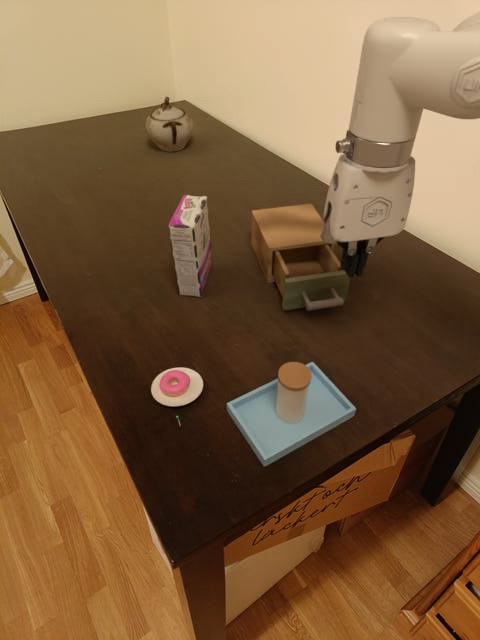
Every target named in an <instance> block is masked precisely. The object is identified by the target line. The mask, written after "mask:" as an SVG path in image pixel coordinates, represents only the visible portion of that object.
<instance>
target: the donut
mask: <svg viewBox="0 0 480 640" xmlns="http://www.w3.org/2000/svg"><path fill="white" fill-rule="evenodd" d="M203 389H204V380H203V378H202V376H201V375H200V374H199V372H197V371H196V370H194V369H192V368H188V367H182V366H181V367H171V368H168V369H166V370H164V371H162V372H160V373H159V374H157V376H156V377H155V378H154V380H153V381H152V382H151V387H150V391H151V392H150V393H151V396H152V397H153V399H154V400H155V401H156V402H158V403H159V404H161V405H163V406H167V407H180V406H185V405H187V404H190V403H192V402H194V401H195V400H196V399H197V398H198V397H199V396H200V395H201V394H202V391H203ZM175 418H176V419H177V420H178V424H179V427H181V423H180V419H179V415H176V416H175Z"/></svg>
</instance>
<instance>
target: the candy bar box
mask: <svg viewBox="0 0 480 640" xmlns="http://www.w3.org/2000/svg"><path fill="white" fill-rule="evenodd" d="M208 205H209V203H208V196H206V195H193V194H192V195H191V194H183V195H182V197H181V200H180V202H179V203H178V205H177V208H176V209H175V211H174V213H173V215H172V217H171V219H170V221H169V223H168V225H167V227H168V233H169V239H170V246H171V250H172V258H173V263H174V270H175V275H176V281H177V288H178V289H177V290H178V294H179V296H183V297H196V298H202V297H203V295H204V291H205V289H206V285H207V283H208V279H209V276H210V274H211V272H212V268H213V265H214V263H213V254H212V253H213V252H212V239H211V228H210V227H211V226H210V216H209V206H208Z"/></svg>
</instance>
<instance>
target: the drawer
mask: <svg viewBox="0 0 480 640" xmlns="http://www.w3.org/2000/svg"><path fill="white" fill-rule="evenodd" d="M334 252H335V251H334ZM334 252H333V251H332V249H331V248H330V246H329V245H328V244H322V245H315V246H307V247H300V248H292V249H285V250H278V251H273V256H272V275H273V277H274V279H275V281H276V282H275V283H276V285H277V288H278V290H279V293H280V295H281V297H282V303H281V304H282V305H281V307H282V309H283V311H289V310H296V309H297V310H298V309H303V308H306V310H307V312H309V311H310V312H311V311H316V310H322V309H329V308H336V307H342V306H343V305H344V302H346V300H347V295H348V291H349V287H350V281H351V278H349V277H348V275H347V274H346V272H345V271H344V270H343V269H342V268H341V264H340V263H341V261H340V260H339V259H338V257H337V255H336V254H335V253H334Z"/></svg>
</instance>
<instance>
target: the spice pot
mask: <svg viewBox="0 0 480 640" xmlns="http://www.w3.org/2000/svg"><path fill="white" fill-rule="evenodd" d="M306 365H307V364H304V363H302V362H299V361H288V362H286V363H283V364H282V365H281V366H280V367H279V368H278V372H277V379H278V389H277V400H276V415H277V417H278V418H279V419H280V420H281V421H282V422H284V423H288V424H295V423H298V422H300V421H301V420H302V419H303V417H304V414H305V408H306V403H307V397H308V391H309V385H310V383H311V378H312V374H311V371H310V370H309V368H308V367H307V366H306Z"/></svg>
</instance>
